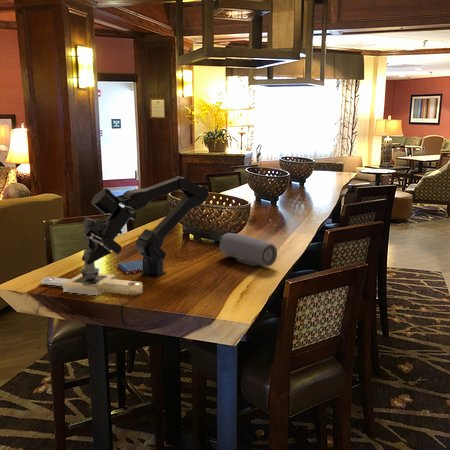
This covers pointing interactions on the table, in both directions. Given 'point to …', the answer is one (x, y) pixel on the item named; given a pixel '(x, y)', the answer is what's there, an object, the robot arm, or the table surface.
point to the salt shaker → (89, 269)
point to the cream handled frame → (60, 283)
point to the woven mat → (131, 266)
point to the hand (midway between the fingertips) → (85, 262)
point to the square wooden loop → (106, 285)
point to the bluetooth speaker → (248, 249)
